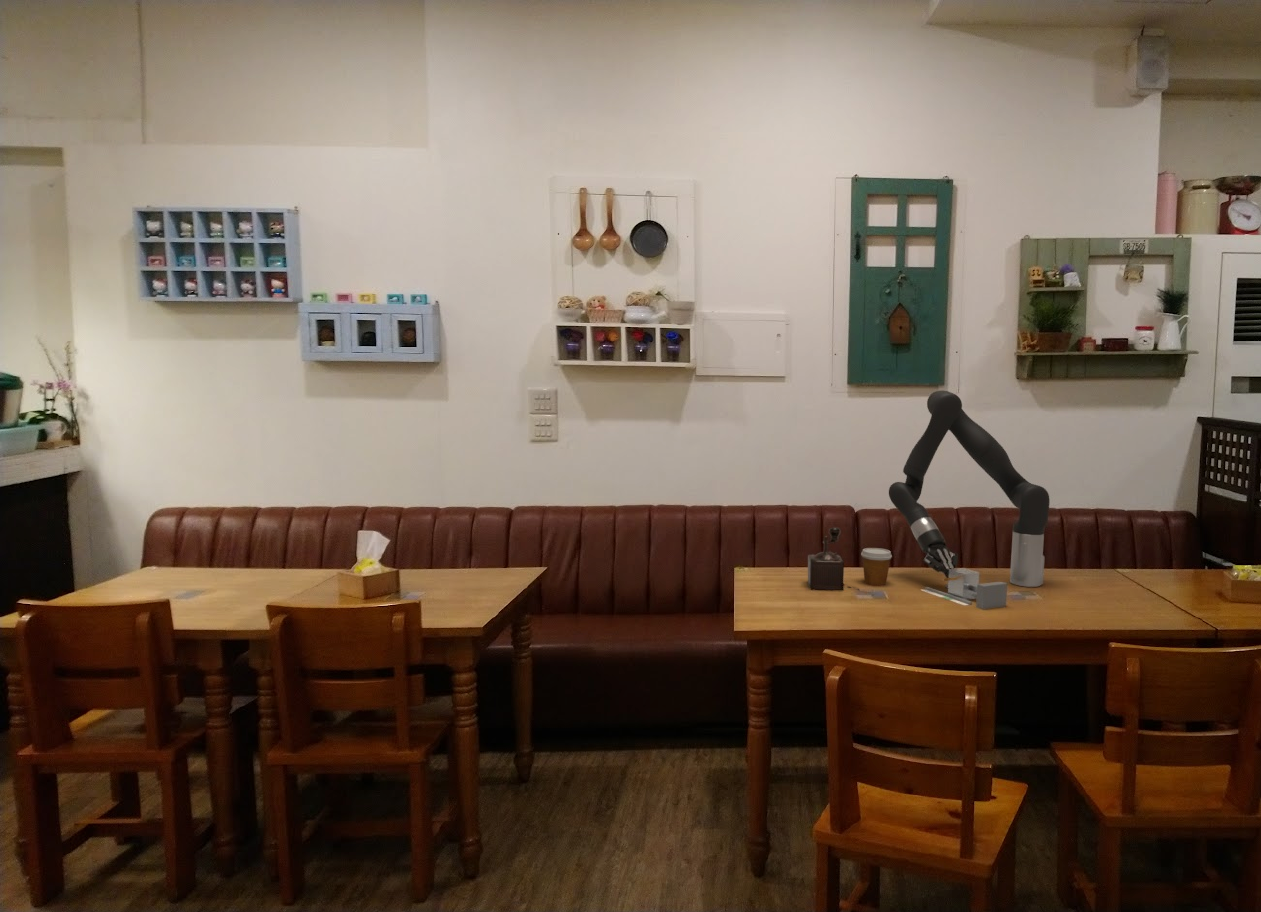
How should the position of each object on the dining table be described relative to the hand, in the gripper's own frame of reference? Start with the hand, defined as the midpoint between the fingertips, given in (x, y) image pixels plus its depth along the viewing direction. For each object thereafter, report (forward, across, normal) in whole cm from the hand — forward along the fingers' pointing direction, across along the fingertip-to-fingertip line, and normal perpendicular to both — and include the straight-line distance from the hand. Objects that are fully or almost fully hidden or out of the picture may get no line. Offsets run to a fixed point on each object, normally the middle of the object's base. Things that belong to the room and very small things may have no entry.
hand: (954, 581), depth 246 cm
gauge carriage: (+7, -3, -2) cm, 8 cm away
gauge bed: (+6, 0, +1) cm, 6 cm away
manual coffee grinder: (-16, -27, +24) cm, 40 cm away
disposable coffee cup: (-10, -14, +18) cm, 25 cm away
